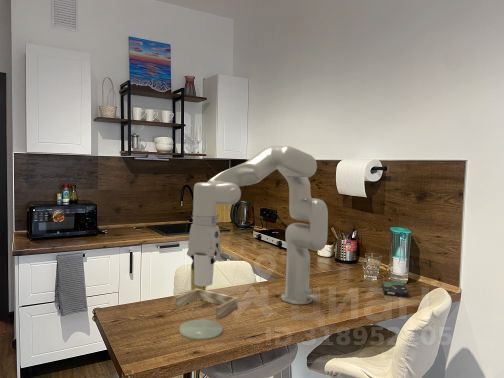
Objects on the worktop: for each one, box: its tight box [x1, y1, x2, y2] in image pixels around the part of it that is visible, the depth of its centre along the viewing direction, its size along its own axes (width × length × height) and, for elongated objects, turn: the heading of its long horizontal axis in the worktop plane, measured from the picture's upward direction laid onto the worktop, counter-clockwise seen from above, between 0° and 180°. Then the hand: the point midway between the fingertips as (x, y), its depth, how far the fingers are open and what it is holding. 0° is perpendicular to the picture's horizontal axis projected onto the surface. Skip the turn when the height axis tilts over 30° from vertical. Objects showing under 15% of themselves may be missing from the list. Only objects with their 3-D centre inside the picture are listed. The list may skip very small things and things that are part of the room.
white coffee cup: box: [194, 253, 215, 287], centre depth 130 cm, size 7×7×10 cm
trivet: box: [179, 319, 224, 341], centre depth 132 cm, size 14×14×1 cm
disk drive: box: [381, 281, 410, 299], centre depth 181 cm, size 10×3×15 cm
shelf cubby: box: [174, 288, 239, 320], centre depth 152 cm, size 19×13×4 cm
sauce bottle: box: [190, 260, 207, 291], centre depth 168 cm, size 6×6×20 cm
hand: (202, 276), depth 130 cm, fingers closed on white coffee cup, 2 cm apart
